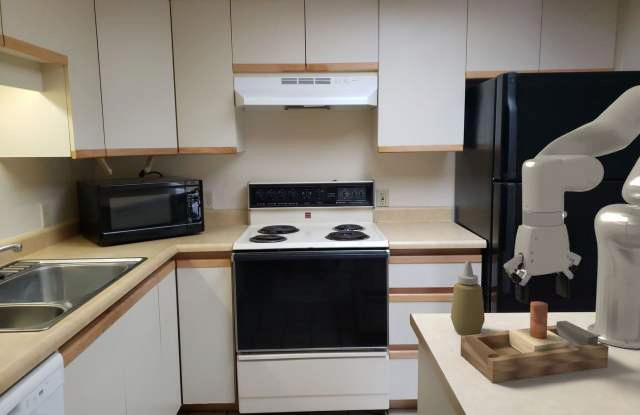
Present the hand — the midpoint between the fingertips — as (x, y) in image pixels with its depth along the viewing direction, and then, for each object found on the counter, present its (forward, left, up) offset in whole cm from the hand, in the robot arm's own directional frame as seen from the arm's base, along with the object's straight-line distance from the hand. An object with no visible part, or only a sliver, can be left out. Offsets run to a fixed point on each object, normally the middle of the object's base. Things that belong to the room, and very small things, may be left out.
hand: (542, 298), depth 89 cm
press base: (+2, 0, -13) cm, 14 cm away
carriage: (+1, 0, -11) cm, 11 cm away
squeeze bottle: (+7, -17, -14) cm, 23 cm away
